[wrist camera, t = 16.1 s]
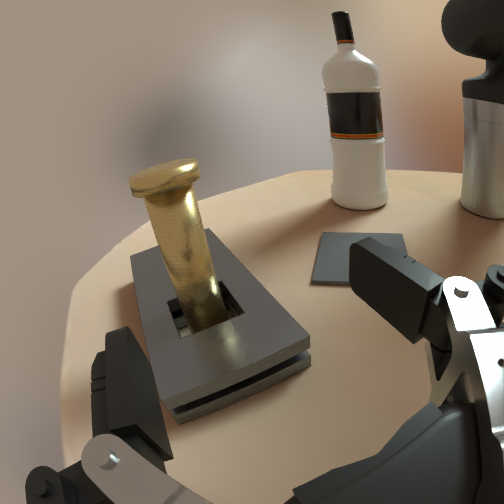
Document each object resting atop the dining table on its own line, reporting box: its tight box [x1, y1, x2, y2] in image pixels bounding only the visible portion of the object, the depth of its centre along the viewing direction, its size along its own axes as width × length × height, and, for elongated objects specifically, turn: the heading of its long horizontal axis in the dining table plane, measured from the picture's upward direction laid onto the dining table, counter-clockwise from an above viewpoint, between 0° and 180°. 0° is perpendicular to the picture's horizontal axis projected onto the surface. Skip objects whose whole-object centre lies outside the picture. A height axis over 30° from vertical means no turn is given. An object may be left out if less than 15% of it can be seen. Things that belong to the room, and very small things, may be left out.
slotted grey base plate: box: [130, 228, 311, 425], centre depth 26 cm, size 21×10×3 cm, turn 25°
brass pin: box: [128, 158, 228, 334], centre depth 20 cm, size 4×4×14 cm
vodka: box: [322, 11, 389, 210], centre depth 37 cm, size 9×9×30 cm
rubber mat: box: [312, 232, 408, 285], centre depth 30 cm, size 10×10×1 cm
